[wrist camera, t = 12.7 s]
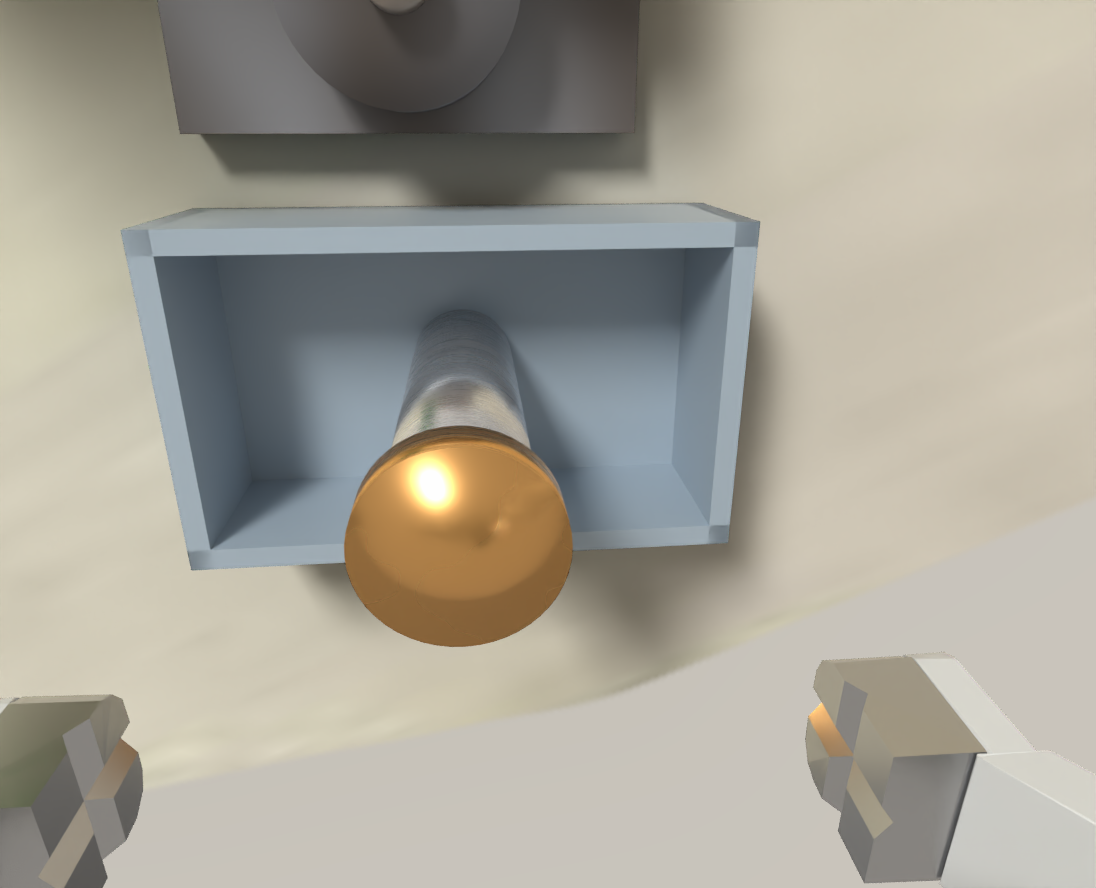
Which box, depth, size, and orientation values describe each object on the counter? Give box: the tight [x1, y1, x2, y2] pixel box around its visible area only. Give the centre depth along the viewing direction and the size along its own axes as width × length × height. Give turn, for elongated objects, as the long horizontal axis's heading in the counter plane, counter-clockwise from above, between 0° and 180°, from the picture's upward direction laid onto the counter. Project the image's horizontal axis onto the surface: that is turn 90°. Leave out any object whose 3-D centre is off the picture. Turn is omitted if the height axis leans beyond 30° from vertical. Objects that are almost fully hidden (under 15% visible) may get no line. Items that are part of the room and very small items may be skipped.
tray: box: [121, 203, 760, 570], centre depth 22 cm, size 15×9×5 cm, turn 90°
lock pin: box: [344, 310, 573, 647], centre depth 18 cm, size 4×4×12 cm
